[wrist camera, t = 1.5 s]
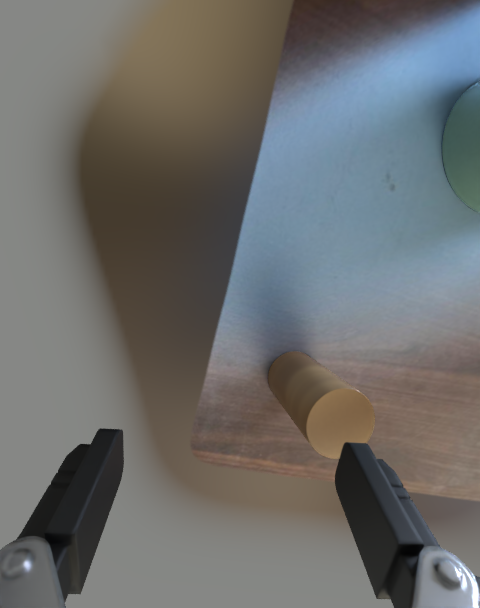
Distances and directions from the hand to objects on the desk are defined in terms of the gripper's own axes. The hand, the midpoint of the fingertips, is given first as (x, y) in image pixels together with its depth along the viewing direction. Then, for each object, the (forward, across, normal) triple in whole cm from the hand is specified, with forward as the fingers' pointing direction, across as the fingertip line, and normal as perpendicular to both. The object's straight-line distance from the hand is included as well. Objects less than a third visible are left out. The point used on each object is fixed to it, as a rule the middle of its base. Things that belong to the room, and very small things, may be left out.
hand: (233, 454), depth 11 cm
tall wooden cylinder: (+18, -7, +8) cm, 21 cm away
